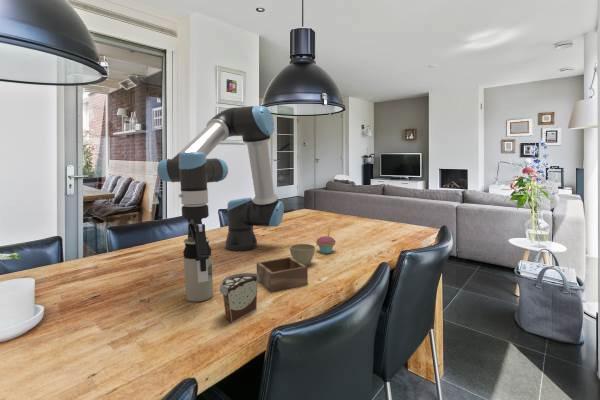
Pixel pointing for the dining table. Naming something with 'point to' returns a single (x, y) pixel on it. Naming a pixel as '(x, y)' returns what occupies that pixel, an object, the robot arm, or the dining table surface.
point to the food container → (239, 295)
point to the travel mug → (196, 273)
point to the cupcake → (325, 243)
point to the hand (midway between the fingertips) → (198, 274)
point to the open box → (282, 274)
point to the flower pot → (302, 253)
